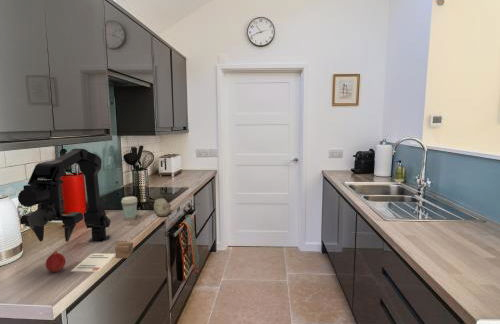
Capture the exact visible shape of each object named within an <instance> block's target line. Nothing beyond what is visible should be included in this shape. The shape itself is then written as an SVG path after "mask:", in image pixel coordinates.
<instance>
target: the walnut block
mask: <svg viewBox="0 0 500 324" xmlns="http://www.w3.org/2000/svg"><path fill="white" fill-rule="evenodd" d="M114 252H115V253H114V254H116V255H115V259H129V258H130V257H131V256H132V255H133V254H134V241H121V242H119V243H117V245H116V246H115V251H114Z"/></svg>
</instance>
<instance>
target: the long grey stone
mask: <svg viewBox="0 0 500 324" xmlns="http://www.w3.org/2000/svg"><path fill="white" fill-rule="evenodd" d="M171 205H172V204H171V203H168V200H166V198H161V197H160V198H157V199H155V200H154V203H153V211H154V212H155V214H156V216H158V217H166V216H168V215H169V214H170V213H171Z"/></svg>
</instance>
